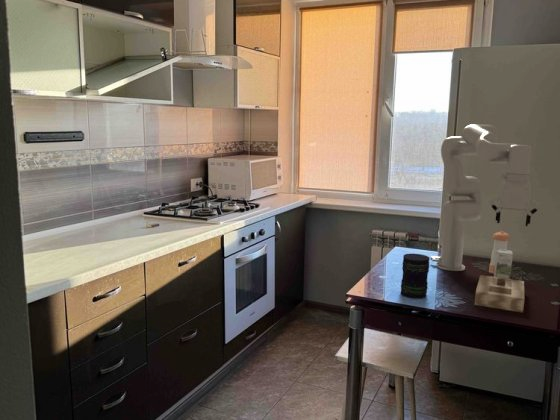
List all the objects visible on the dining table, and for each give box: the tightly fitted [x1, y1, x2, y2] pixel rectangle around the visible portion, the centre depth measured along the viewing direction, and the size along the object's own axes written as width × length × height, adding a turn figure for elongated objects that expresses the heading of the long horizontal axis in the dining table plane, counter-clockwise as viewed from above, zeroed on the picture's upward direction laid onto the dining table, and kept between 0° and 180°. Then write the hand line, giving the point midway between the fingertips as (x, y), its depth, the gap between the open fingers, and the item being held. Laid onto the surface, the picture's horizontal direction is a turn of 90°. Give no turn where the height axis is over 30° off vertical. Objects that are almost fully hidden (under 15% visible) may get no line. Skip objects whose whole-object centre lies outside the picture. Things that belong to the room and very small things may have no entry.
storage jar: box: [400, 253, 431, 300], centre depth 192 cm, size 10×10×15 cm
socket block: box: [474, 274, 525, 314], centre depth 191 cm, size 16×24×5 cm, turn 155°
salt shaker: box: [488, 230, 511, 275], centre depth 226 cm, size 7×7×19 cm
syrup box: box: [493, 249, 514, 279], centre depth 208 cm, size 6×6×14 cm
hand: (512, 224), depth 188 cm, fingers open, 9 cm apart
